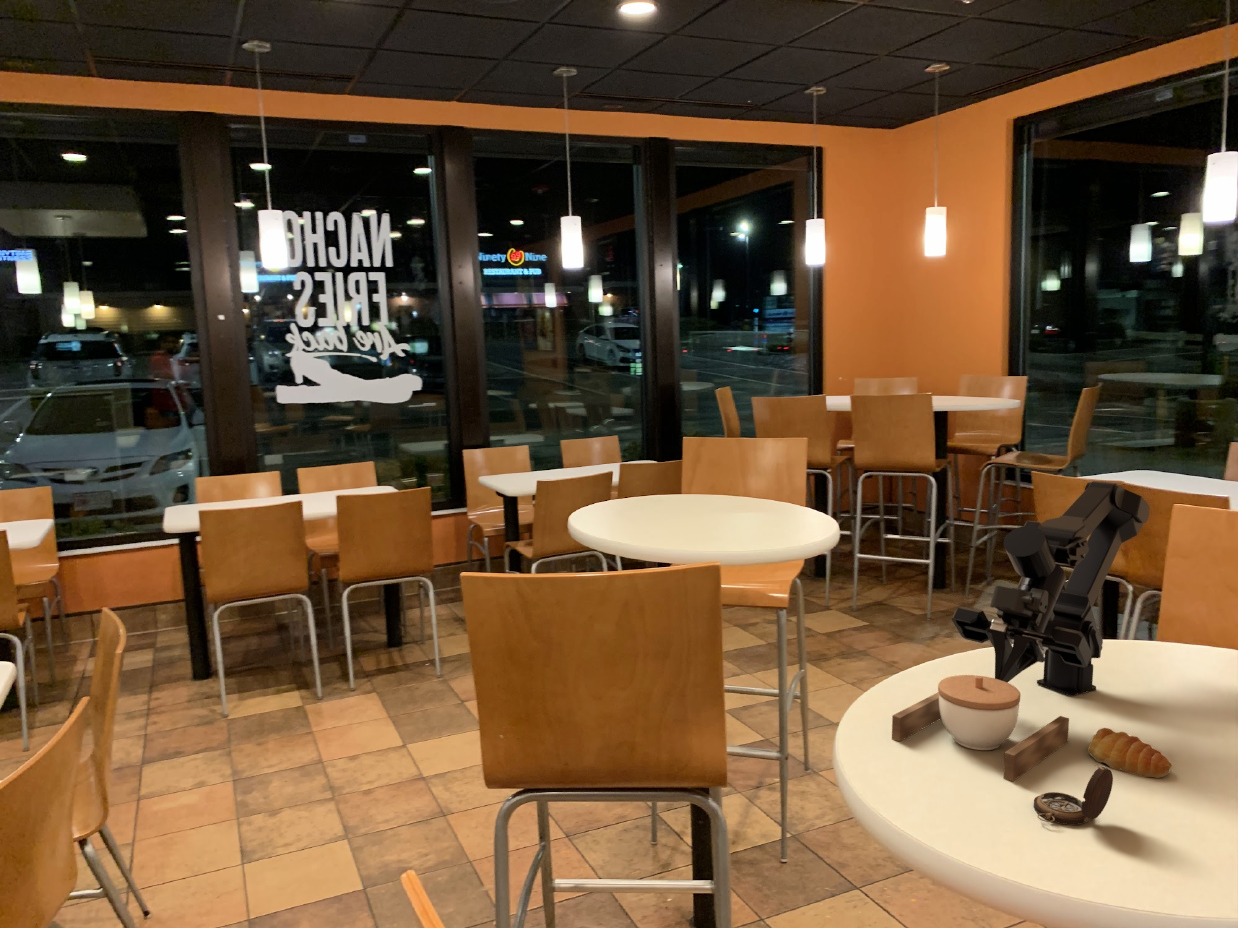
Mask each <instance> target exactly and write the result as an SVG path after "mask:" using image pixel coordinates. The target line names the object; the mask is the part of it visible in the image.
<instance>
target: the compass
mask: <svg viewBox="0 0 1238 928" xmlns="http://www.w3.org/2000/svg"><path fill="white" fill-rule="evenodd" d="M1093 766H1094V767H1097V769H1096V770H1095V771H1094V772H1093V773H1092V775H1091V777H1090V778H1089V780H1088V782H1087V784H1086V788H1085V789H1084V793H1083V795H1082V797H1083V799H1084V800H1081V799H1080V798H1078V797H1075V796H1073V795H1070V794H1068V793H1064V792H1059V791H1058V792H1057V791H1049V792H1048V791H1047V792H1045V793H1042V794H1040V795H1038V796H1035V797H1034V799H1033V809H1034V810H1035V812H1037V819H1038V820H1040V821H1042V822H1045V823H1046V822H1047V823H1058V824H1063V825H1067V826H1068V825H1069V826H1073V825H1074V826H1077V825H1082V824H1085V823H1087V822H1088V821H1089V820H1095V819H1096V818H1098V817H1099V816H1100V815H1101V814H1102V812H1103V811H1104V810H1105V807H1106V805H1107V804H1108V801H1109V798H1110V797H1111V792H1112V789H1113V784H1114V783H1113V782H1114V776H1113V773H1112V770H1111V769H1109V768H1107V767H1105V766H1099V765H1097V764H1094V765H1093ZM1040 816H1041V817H1043V818H1045V819H1042V818H1040Z"/></svg>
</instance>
